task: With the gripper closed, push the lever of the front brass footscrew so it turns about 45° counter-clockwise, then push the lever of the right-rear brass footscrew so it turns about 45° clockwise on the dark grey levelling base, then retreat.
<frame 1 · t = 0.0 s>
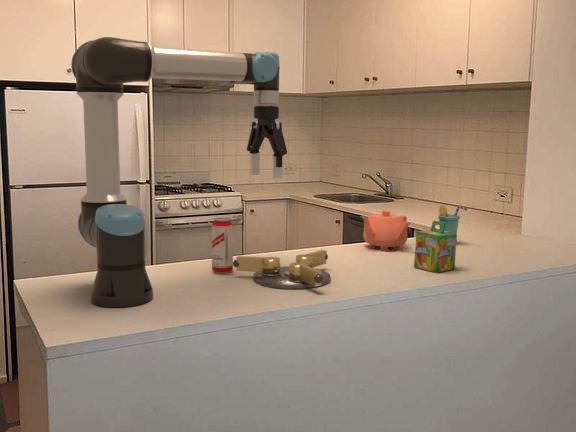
hand: (266, 176, 194), 28 cm above the worktop, fingers open, 13 cm apart
teapot: (384, 248, 227), on the worktop
knob B: (313, 260, 190), point 4 cm above the worktop, hinge at 0.0°
cup: (449, 245, 236), on the worktop
chalk box: (434, 269, 198), on the worktop
knob D: (271, 272, 183), resting on levelling base
levelling base: (291, 279, 183), on the worktop
beer can: (222, 272, 190), on the worktop
knob A: (306, 274, 173), point 4 cm above the worktop, hinge at 0.0°
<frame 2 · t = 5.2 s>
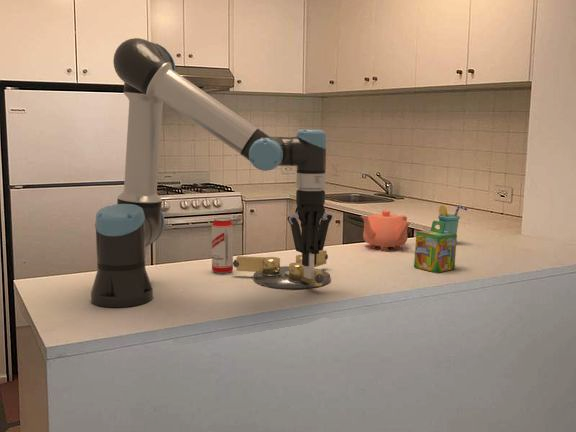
hand: (308, 277, 170), 4 cm above the worktop, fingers closed
knob A: (307, 274, 173), point 4 cm above the worktop, hinge at 1.6°, touching gripper
everything else where it was.
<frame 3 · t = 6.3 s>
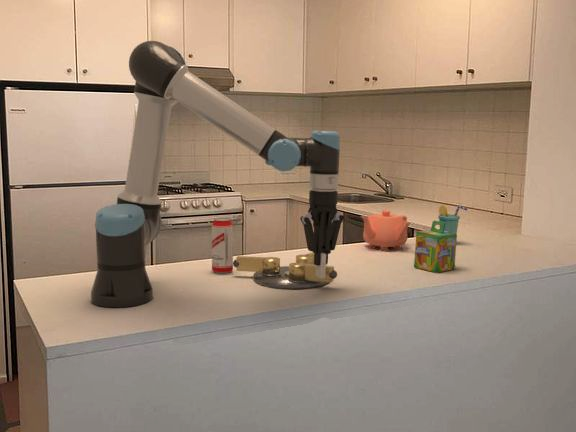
hand: (320, 276, 172), 4 cm above the worktop, fingers closed
knob A: (313, 272, 175), point 4 cm above the worktop, hinge at 37.2°, touching gripper
everything else where it was.
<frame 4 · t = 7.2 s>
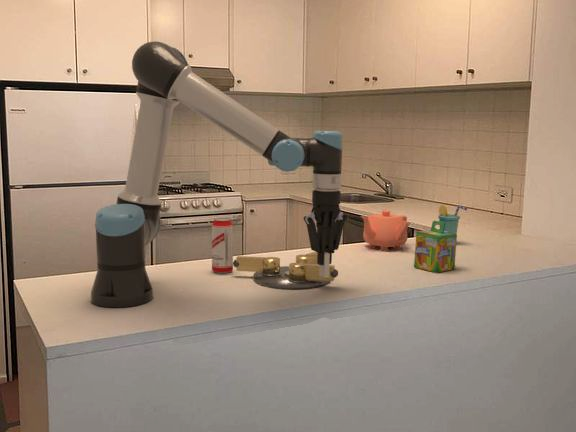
hand: (324, 276, 172), 4 cm above the worktop, fingers closed
knob A: (313, 272, 175), point 4 cm above the worktop, hinge at 44.3°, touching gripper
everything else where it was.
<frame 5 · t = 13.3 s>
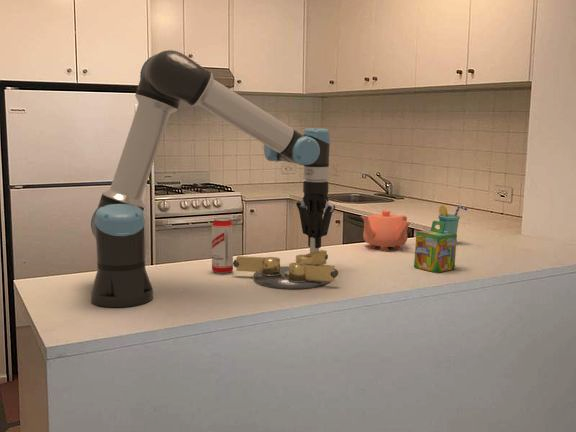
hand: (314, 258, 193), 4 cm above the worktop, fingers closed
knob B: (313, 260, 190), point 4 cm above the worktop, hinge at -0.1°, touching gripper
knob A: (313, 272, 175), point 4 cm above the worktop, hinge at 44.4°
everything else where it was.
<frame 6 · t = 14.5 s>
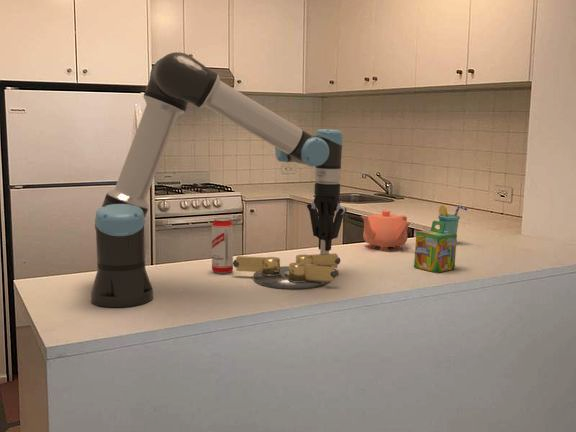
hand: (324, 260, 191), 4 cm above the worktop, fingers closed
knob B: (318, 261, 188), point 4 cm above the worktop, hinge at -35.8°, touching gripper
everything else where it was.
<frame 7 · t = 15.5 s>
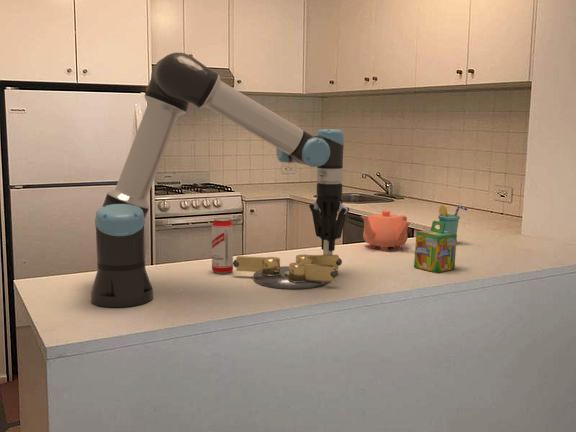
hand: (327, 261, 190), 4 cm above the worktop, fingers closed
knob B: (319, 262, 187), point 4 cm above the worktop, hinge at -45.0°
everything else where it was.
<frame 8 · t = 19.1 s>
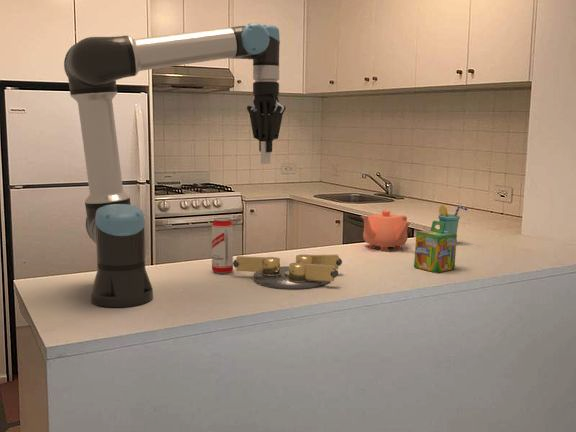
hand: (265, 163, 187), 32 cm above the worktop, fingers closed
nothing on the worktop moved.
at the end: knob A at +44° (first picture: +0°); knob B at -45° (first picture: +0°); knob B touching nothing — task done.
